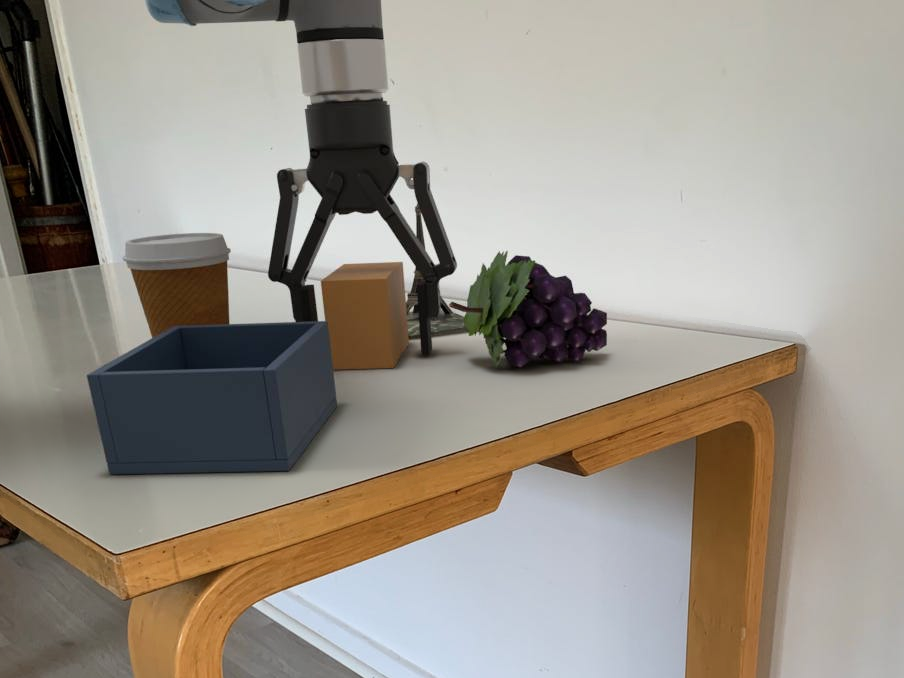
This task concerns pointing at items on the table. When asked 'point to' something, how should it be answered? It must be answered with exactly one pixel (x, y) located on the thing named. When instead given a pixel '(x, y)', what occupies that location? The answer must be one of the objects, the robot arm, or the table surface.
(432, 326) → the eiffel tower figurine
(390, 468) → the table surface
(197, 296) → the disposable coffee cup
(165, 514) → the table surface
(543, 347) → the fruit
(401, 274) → the tan cardboard-coloured block
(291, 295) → the robot arm
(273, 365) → the compartment
